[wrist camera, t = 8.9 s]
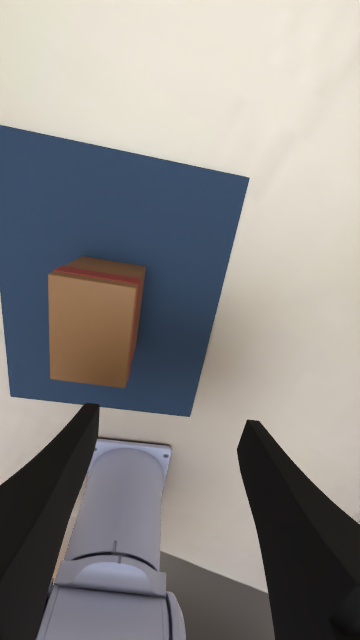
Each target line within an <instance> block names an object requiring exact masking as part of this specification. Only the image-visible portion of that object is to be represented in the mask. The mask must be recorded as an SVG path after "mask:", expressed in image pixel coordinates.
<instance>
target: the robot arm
mask: <svg viewBox="0 0 360 640" xmlns="http://www.w3.org/2000/svg"><path fill="white" fill-rule="evenodd" d="M99 409H100V404H94V403H86V404H84V405H83V406H82V408H81V409H80V410H79V411H78V413H77V414H76V415H75V416H74V417H73V419H72V420H71V421H70V422H69V423H68V424H67V425H66V426H65V427H64V428H63V430H62V431H61V432H60V433H59V434H58V435H57V436H56V437H55V438H54V439H53V440H52V441H51V442H50V443H49V444H48V445H47V446H46V447H45V448H44V449H43V450H42V451H41V452H40V453H38V454H37V455H36V456H35V457H34V458H33V459H32V460H31V461H30V462H28V463H27V464H26V465H25V466H24V467H23V468H21V469H20V470H19V471H18V472H17V473H15V474H14V475H13V476H12V477H10V478H9V479H8V480H6V481H5V482H4V483H3V484H1V485H0V640H186V636H185V635H186V634H185V626H184V619H183V615H182V611H181V609H180V606H179V605H178V603H177V600H176V597H175V595H174V594H173V593H172V592H167V591H166V573H164V572H159V566H160V565H159V564H160V535H161V505H162V492H163V488H164V483H165V479H166V475H167V470H168V466H169V462H170V457H171V453H172V449H171V447H170V446H165V445H155V444H145V443H135V442H125V441H116V440H106V439H97V438H98V427H99ZM237 454H238V460H239V466H240V472H241V476H242V479H243V483H244V486H245V490H246V494H247V497H248V501H249V504H250V508H251V511H252V515H253V518H254V522H255V525H256V530H257V534H258V538H259V544H260V549H261V554H262V559H263V564H264V570H265V576H266V582H267V587H268V593H269V599H270V607H271V613H272V619H273V626H274V634H275V640H360V525H359V524H358V523H357V522H356V521H354V520H353V519H352V518H351V517H350V516H349V515H347V514H346V513H345V512H344V511H343V510H341V509H340V508H339V507H338V506H337V505H336V504H335V503H334V502H332V501H331V500H330V499H329V498H328V497H327V496H326V495H325V494H324V493H323V492H322V491H321V490H320V489H319V488H318V487H317V486H316V485H315V484H314V483H313V482H312V481H311V480H310V479H309V478H308V477H307V476H306V475H305V474H304V473H303V472H302V471H301V470H300V469H299V468H298V467H297V465H296V464H295V463H294V462H293V461H292V460H291V459H290V458H289V456H288V455H287V454H286V453H285V452H284V451H283V449H282V448H281V447H280V446H279V445H278V443H277V442H276V441H275V440H274V439H273V437H272V436H271V435H270V434H269V432H268V431H267V430H266V429H265V428H264V426H263V425H262V424H261V423H260V422H259V421H255V420H247V422H246V424H245V427H244V430H243V433H242V436H241V439H240V442H239V445H238V448H237ZM87 470H88V475H87V486H86V489H85V492H84V496H83V499H82V502H81V505H80V509H79V512H78V515H77V519H76V522H75V525H74V528H73V532H72V535H71V538H70V541H69V545H68V548H67V551H66V555H65V558H64V560H62V561H61V564H60V567H59V570H58V573H57V576H56V580H55V583H54V585H53V578H52V576H53V573H54V569H55V565H56V562H57V558H58V555H59V551H60V548H61V545H62V541H63V538H64V534H65V531H66V528H67V524H68V521H69V518H70V515H71V512H72V510H73V507H74V504H75V502H76V499H77V497H78V494H79V491H80V489H81V486H82V484H83V481H84V478H85V476H86V473H87Z"/></svg>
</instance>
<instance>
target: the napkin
mask: <svg viewBox="0 0 360 640" xmlns="http://www.w3.org/2000/svg"><path fill="white" fill-rule="evenodd" d="M248 182H249V178H248V177H243V176H239V175H234V174H229V173H224V172H220V171H215V170H210V169H205V168H201V167H196V166H191V165H187V164H182V163H177V162H172V161H168V160H163V159H158V158H153V157H149V156H144V155H139V154H134V153H130V152H125V151H120V150H116V149H111V148H106V147H101V146H97V145H92V144H87V143H82V142H78V141H73V140H68V139H63V138H59V137H54V136H49V135H44V134H40V133H35V132H30V131H26V130H21V129H16V128H11V127H7V126H2V125H0V293H1V304H2V314H3V324H4V334H5V344H6V354H7V365H8V375H9V385H10V395H11V397H19V398H28V399H37V400H45V401H54V402H63V403H72V404H80V405H84V404H86V403H94V404H100V407H107V408H116V409H124V410H133V411H142V412H151V413H159V414H168V415H177V416H186V417H190V415H191V411H192V407H193V403H194V398H195V394H196V390H197V386H198V382H199V378H200V374H201V370H202V366H203V362H204V358H205V354H206V350H207V346H208V342H209V338H210V334H211V330H212V326H213V322H214V318H215V314H216V310H217V306H218V302H219V298H220V294H221V290H222V286H223V282H224V278H225V274H226V270H227V266H228V262H229V258H230V254H231V250H232V246H233V242H234V238H235V234H236V230H237V226H238V222H239V218H240V214H241V210H242V206H243V202H244V198H245V194H246V190H247V186H248ZM81 256H86V257H92V258H97V259H103V260H109V261H115V262H121V263H127V264H133V265H139V266H145V267H146V272H145V280H144V287H143V295H142V303H141V311H140V319H139V327H138V335H137V343H136V348H135V352H134V356H133V359H132V363H131V370H130V375H129V379H128V381H127V383H126V387H125V388H119V387H111V386H103V385H94V384H86V383H78V382H70V381H62V380H53V379H50V345H49V301H48V274H49V273H51V272H53V270H54V269H56V268H58V267H60V266H65V265H66V264H68V263H70V262H72V261H74V260H76V259H78V258H80V257H81Z"/></svg>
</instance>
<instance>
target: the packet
mask: <svg viewBox="0 0 360 640" xmlns="http://www.w3.org/2000/svg"><path fill="white" fill-rule="evenodd" d="M145 272H146V267H145V266H139V265H133V264H127V263H121V262H115V261H109V260H103V259H97V258H92V257H86V256H81V257H80V258H78V259H76V260H74V261H72V262H70V263H68V264H66V265H65V266H60V267H58V268H56V269H54V270H53V272H51V273H49V274H48V301H49V345H50V379H53V380H62V381H70V382H78V383H86V384H94V385H103V386H111V387H119V388H125V387H126V383H127V381H128V379H129V375H130V370H131V363H132V359H133V356H134V352H135V348H136V343H137V335H138V327H139V319H140V311H141V303H142V295H143V287H144V280H145Z"/></svg>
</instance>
